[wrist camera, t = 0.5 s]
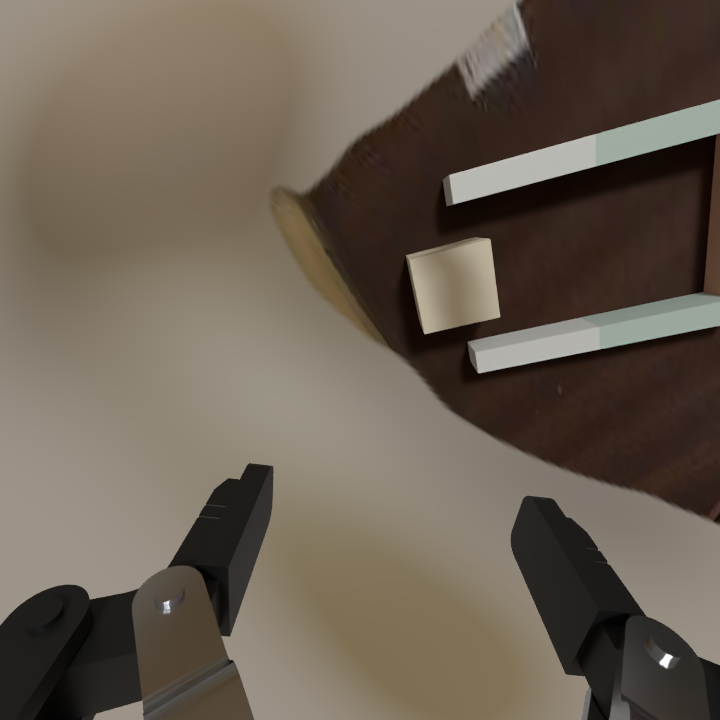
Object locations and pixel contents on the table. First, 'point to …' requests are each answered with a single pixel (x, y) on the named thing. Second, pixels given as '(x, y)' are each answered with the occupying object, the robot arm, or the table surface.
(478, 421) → the table surface
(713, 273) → the channel
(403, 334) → the table surface
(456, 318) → the maple block
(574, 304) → the table surface
